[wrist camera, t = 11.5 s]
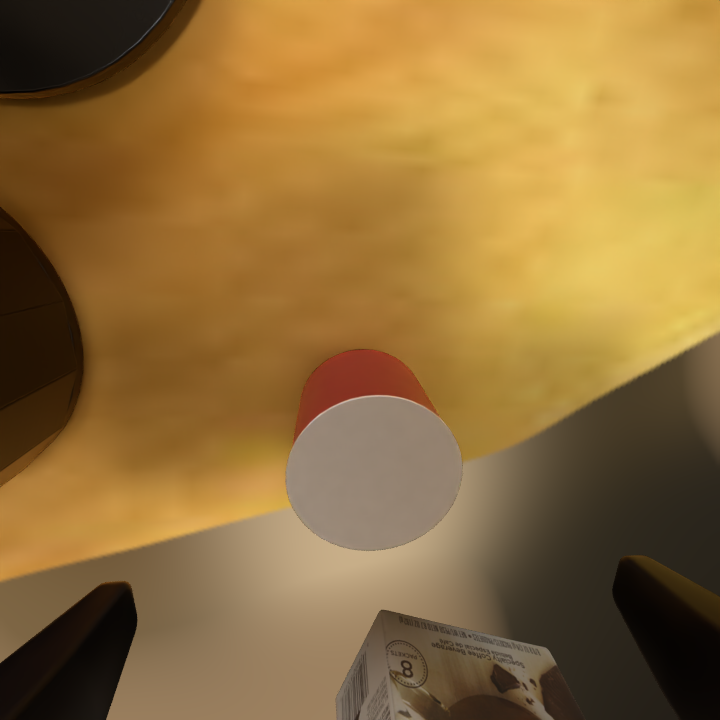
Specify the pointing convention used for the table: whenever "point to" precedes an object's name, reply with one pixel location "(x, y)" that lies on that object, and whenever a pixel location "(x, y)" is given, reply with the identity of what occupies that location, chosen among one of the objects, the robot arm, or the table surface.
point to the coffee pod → (370, 454)
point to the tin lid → (74, 42)
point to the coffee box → (450, 676)
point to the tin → (33, 351)
